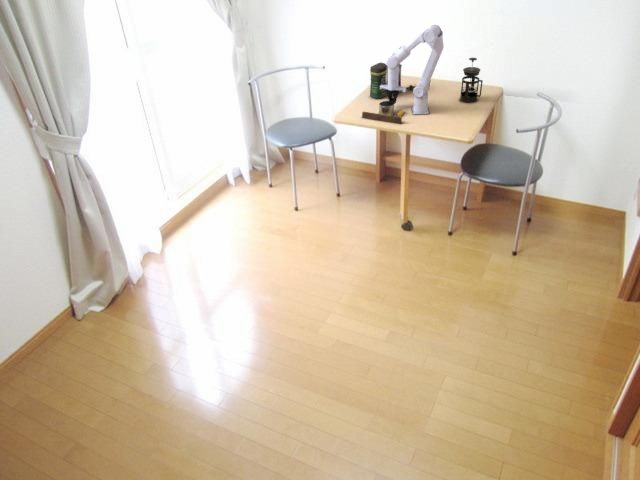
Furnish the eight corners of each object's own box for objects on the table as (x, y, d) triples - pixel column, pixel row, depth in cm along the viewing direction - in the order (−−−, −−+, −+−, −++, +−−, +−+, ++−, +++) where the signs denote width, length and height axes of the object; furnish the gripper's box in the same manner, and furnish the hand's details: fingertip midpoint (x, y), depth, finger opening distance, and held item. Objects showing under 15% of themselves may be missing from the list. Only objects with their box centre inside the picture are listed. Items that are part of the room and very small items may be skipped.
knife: (400, 112, 279) (400, 109, 278) (404, 112, 278) (404, 110, 277) (391, 120, 271) (392, 118, 270) (395, 121, 270) (395, 119, 269)
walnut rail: (362, 117, 277) (362, 112, 275) (363, 116, 278) (363, 111, 276) (400, 124, 267) (400, 118, 265) (401, 122, 268) (401, 117, 266)
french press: (456, 101, 286) (460, 59, 272) (462, 95, 292) (466, 54, 278) (476, 104, 280) (481, 62, 266) (482, 98, 286) (487, 56, 272)
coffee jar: (379, 100, 294) (379, 67, 283) (367, 97, 298) (367, 65, 287) (388, 94, 300) (389, 62, 289) (377, 92, 304) (377, 60, 293)
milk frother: (382, 89, 306) (382, 64, 297) (405, 84, 311) (405, 59, 302) (395, 97, 296) (395, 71, 287) (418, 91, 301) (419, 66, 292)
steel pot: (390, 117, 274) (390, 107, 271) (376, 115, 278) (376, 105, 275) (401, 106, 285) (401, 97, 281) (387, 104, 288) (388, 95, 285)
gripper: (377, 79, 275) (377, 103, 283) (403, 82, 269) (402, 107, 277) (383, 75, 280) (382, 99, 288) (408, 78, 274) (407, 102, 282)
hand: (392, 103), depth 283 cm, fingers closed on steel pot
